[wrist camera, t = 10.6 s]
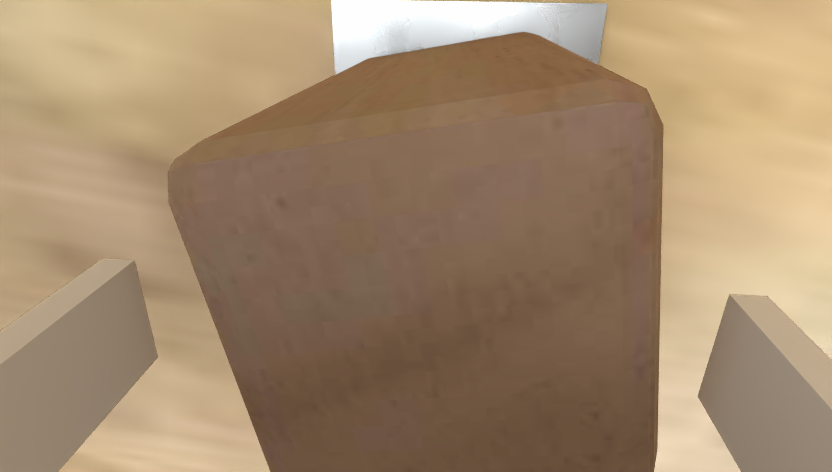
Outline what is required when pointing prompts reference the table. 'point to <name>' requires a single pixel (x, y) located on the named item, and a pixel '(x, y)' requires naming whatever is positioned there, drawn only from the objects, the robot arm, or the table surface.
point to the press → (457, 26)
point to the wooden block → (439, 263)
